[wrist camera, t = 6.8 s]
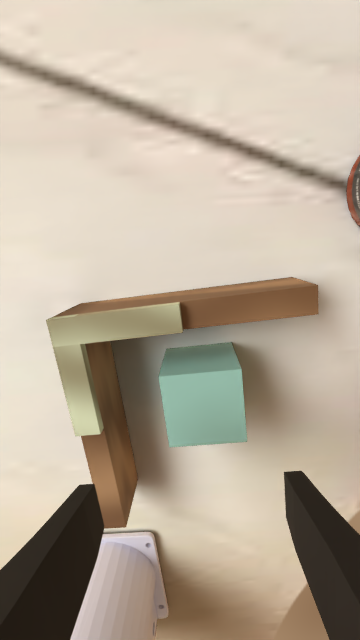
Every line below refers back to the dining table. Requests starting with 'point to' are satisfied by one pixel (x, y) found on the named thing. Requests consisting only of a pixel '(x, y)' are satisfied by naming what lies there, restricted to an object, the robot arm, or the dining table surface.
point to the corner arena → (133, 322)
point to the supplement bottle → (354, 191)
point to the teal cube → (203, 395)
